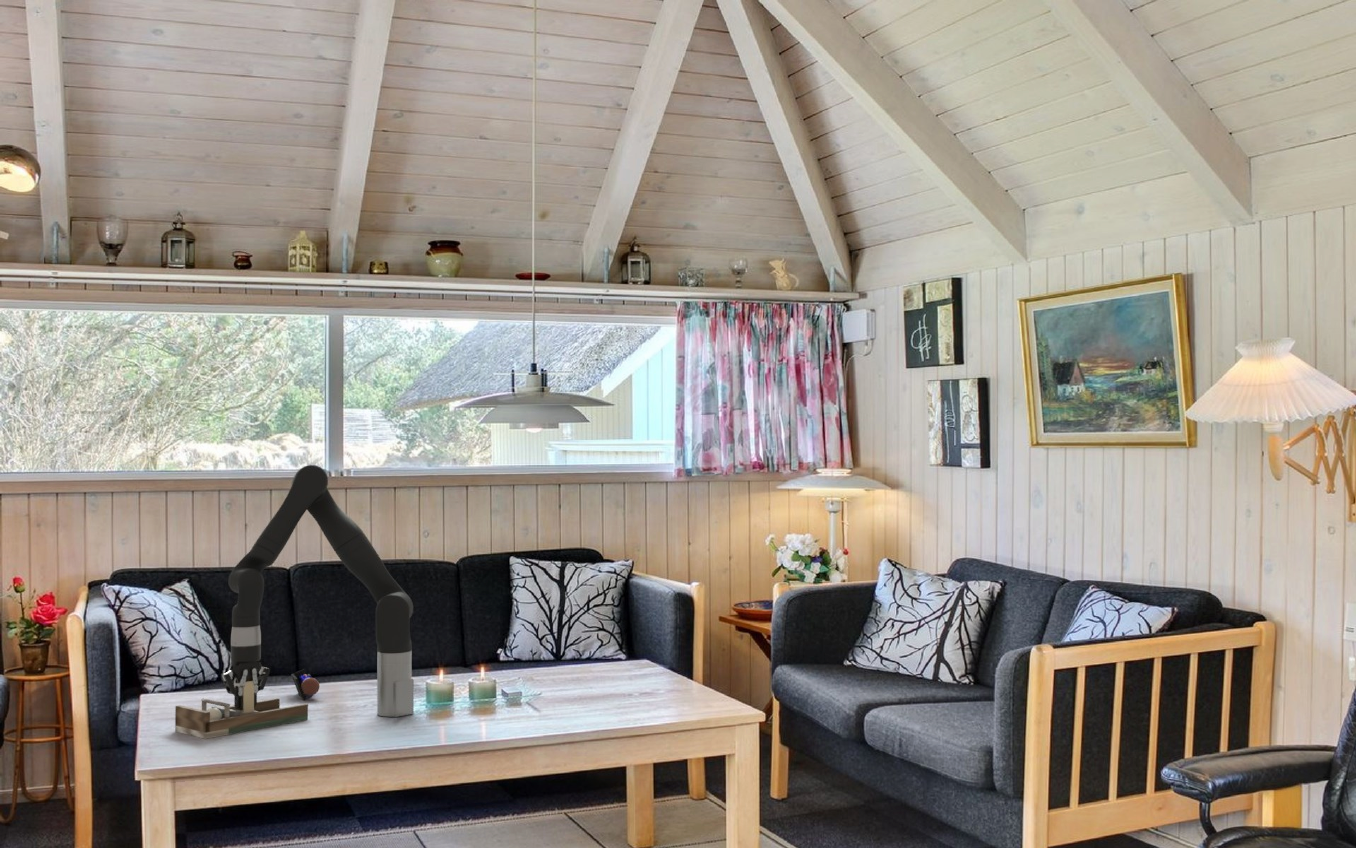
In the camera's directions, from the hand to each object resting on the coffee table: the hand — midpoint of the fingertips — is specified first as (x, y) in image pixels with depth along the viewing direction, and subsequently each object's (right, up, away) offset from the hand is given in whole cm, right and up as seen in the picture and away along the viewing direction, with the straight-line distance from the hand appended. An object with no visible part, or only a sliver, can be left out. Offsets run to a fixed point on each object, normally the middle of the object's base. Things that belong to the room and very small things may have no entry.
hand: (245, 708), depth 328 cm
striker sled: (-1, -2, -2) cm, 3 cm away
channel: (-1, -4, -1) cm, 4 cm away
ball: (-6, 0, -7) cm, 10 cm away
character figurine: (+4, -6, +39) cm, 40 cm away
